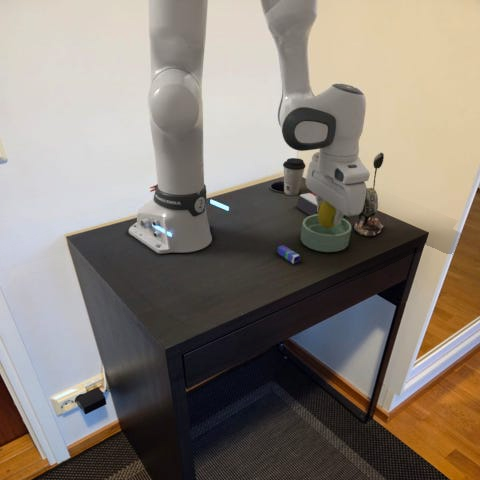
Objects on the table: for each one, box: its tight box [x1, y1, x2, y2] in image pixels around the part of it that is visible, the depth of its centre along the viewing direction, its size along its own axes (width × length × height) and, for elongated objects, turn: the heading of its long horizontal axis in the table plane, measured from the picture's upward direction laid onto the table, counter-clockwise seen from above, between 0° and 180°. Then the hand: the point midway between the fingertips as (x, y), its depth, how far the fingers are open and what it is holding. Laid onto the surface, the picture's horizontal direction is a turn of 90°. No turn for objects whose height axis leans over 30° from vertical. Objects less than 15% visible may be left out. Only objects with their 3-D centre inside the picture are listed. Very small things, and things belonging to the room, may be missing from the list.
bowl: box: [300, 214, 353, 253], centre depth 114 cm, size 12×12×5 cm
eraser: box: [277, 244, 301, 265], centre depth 108 cm, size 2×6×2 cm, turn 36°
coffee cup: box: [282, 157, 306, 196], centre depth 138 cm, size 7×7×10 cm
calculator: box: [296, 191, 318, 216], centre depth 130 cm, size 11×4×15 cm
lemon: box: [318, 201, 337, 229], centre depth 110 cm, size 6×6×8 cm
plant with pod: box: [353, 152, 385, 237], centre depth 115 cm, size 8×11×20 cm
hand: (328, 218), depth 111 cm, fingers closed on lemon, 5 cm apart
